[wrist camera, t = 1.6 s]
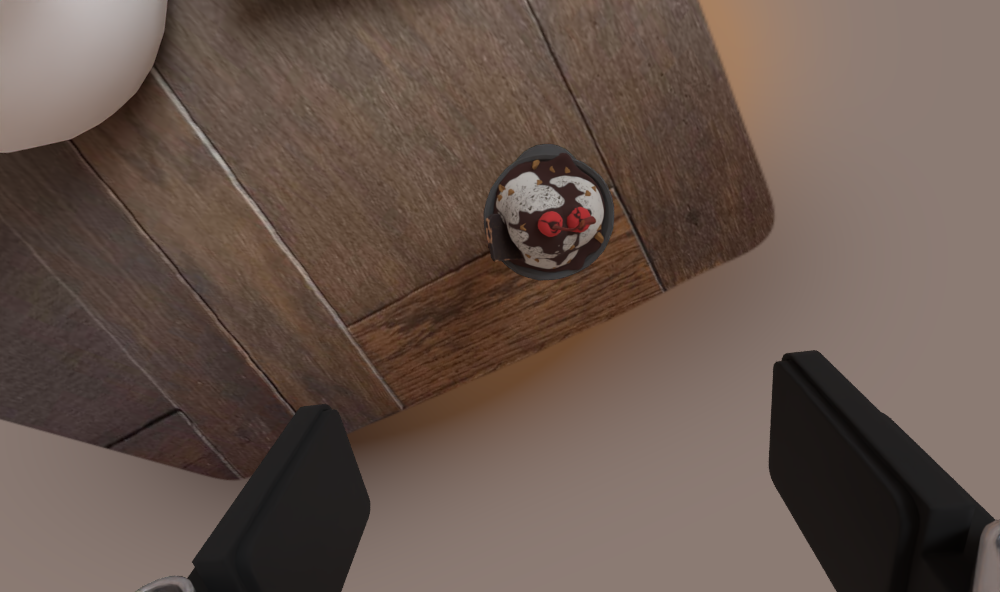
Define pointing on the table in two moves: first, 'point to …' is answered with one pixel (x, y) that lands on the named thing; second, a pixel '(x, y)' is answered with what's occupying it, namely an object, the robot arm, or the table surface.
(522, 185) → the sundae
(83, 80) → the pot
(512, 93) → the table surface
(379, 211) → the table surface
